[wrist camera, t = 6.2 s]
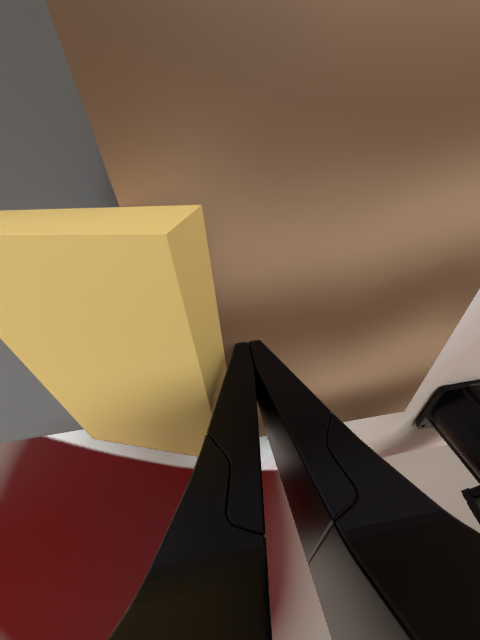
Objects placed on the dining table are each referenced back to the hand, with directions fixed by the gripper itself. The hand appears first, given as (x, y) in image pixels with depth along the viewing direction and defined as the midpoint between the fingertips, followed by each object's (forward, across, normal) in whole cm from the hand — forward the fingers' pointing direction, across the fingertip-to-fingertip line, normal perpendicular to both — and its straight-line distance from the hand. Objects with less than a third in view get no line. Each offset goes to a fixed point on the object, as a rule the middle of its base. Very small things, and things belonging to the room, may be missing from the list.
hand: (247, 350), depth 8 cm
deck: (+5, -3, 0) cm, 6 cm away
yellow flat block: (+1, +4, 0) cm, 4 cm away
